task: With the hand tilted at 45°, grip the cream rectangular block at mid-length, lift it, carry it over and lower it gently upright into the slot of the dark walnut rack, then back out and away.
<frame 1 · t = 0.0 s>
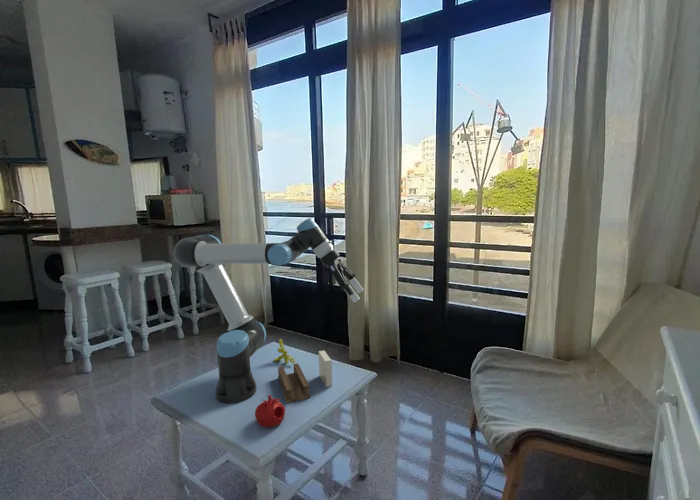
hand: (359, 296, 138), 36 cm above the table, tool tilted 35°, fingers open, 13 cm apart
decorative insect: (284, 363, 161), on the table
cream rectangular block: (325, 380, 144), on the table
pomegranate: (270, 422, 118), on the table
rack: (293, 387, 139), on the table
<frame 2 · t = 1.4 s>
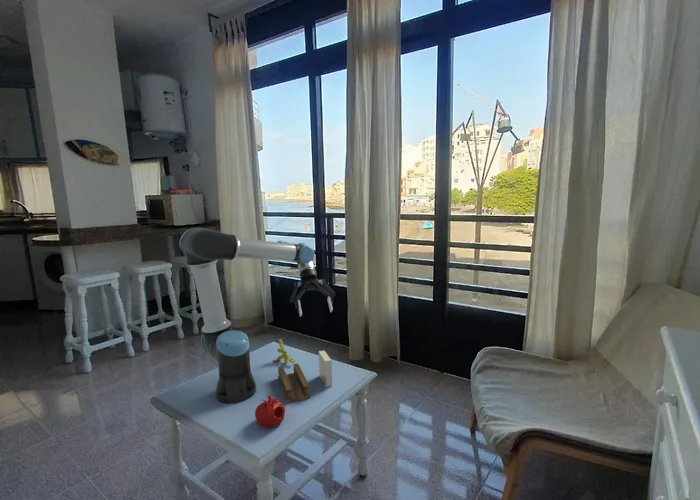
hand: (316, 312, 151), 26 cm above the table, tool tilted 45°, fingers open, 13 cm apart
nothing on the table moved.
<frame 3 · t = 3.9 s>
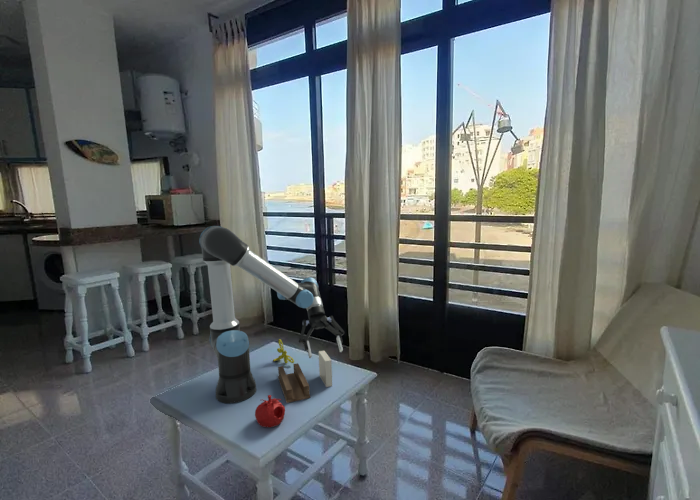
hand: (326, 354, 146), 10 cm above the table, tool tilted 45°, fingers open, 13 cm apart
nothing on the table moved.
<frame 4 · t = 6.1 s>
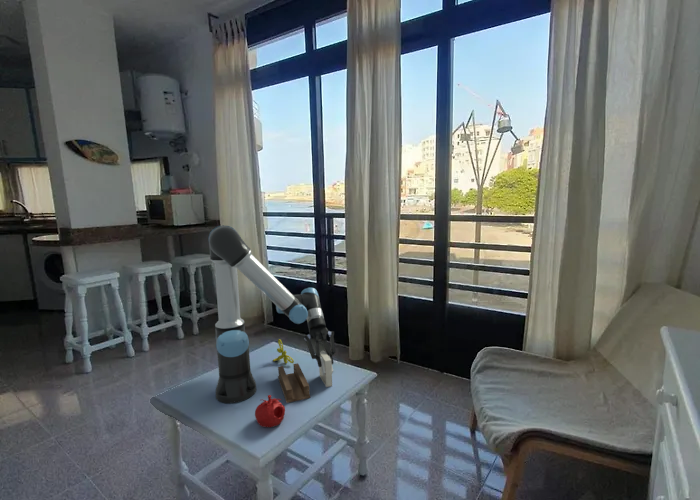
hand: (328, 373, 140), 5 cm above the table, tool tilted 45°, fingers closed on cream rectangular block, 2 cm apart
cream rectangular block: (325, 380, 144), on the table, touching gripper
everything else where it was.
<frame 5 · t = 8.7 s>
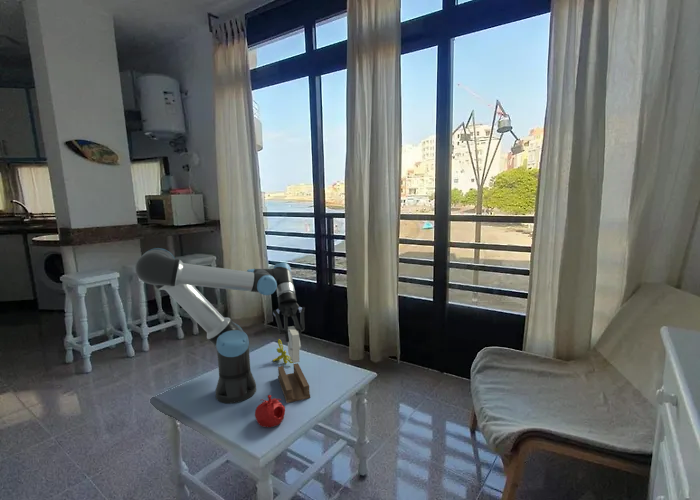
hand: (295, 348, 134), 18 cm above the table, tool tilted 45°, fingers closed on cream rectangular block, 2 cm apart
cream rectangular block: (293, 357, 138), point 13 cm above the table, touching gripper
everything else where it was.
when the fingers open (8 cm above the table, at t = 11.5 s): cream rectangular block drops 1 cm, resting on rack.
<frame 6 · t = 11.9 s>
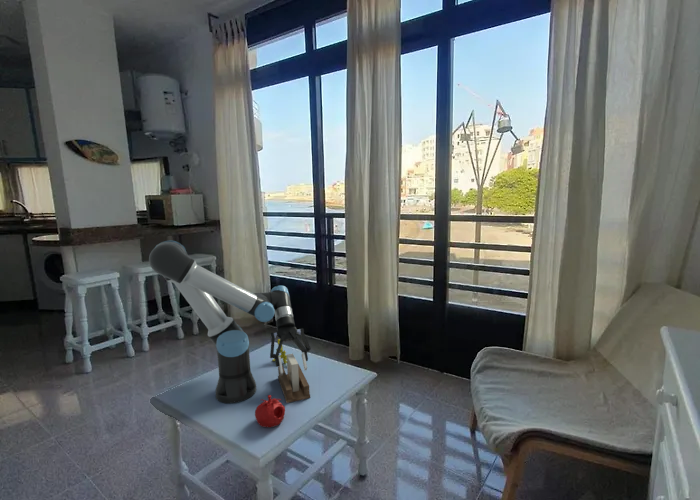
hand: (294, 371, 135), 8 cm above the table, tool tilted 45°, fingers open, 9 cm apart
cream rectangular block: (293, 385, 139), point 1 cm above the table, touching rack
everything else where it was.
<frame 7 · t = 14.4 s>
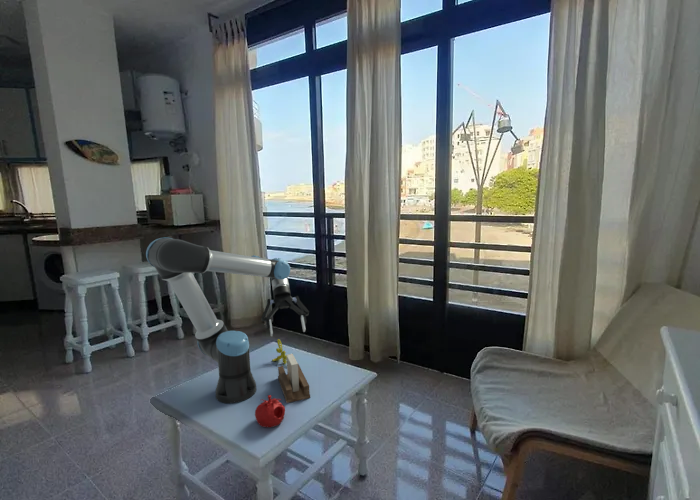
hand: (288, 332, 145), 20 cm above the table, tool tilted 45°, fingers open, 13 cm apart
nothing on the table moved.
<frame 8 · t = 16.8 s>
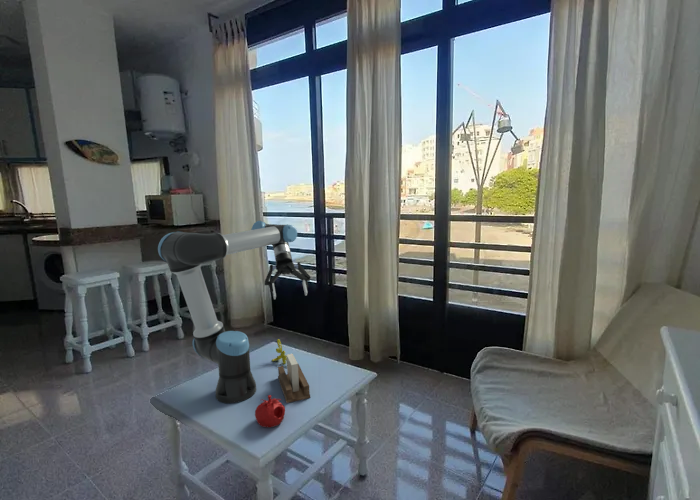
hand: (290, 295, 150), 34 cm above the table, tool tilted 45°, fingers open, 13 cm apart
nothing on the table moved.
at the end: cream rectangular block inside the target area on the rack (0.0 cm from its centre), point 1.0 cm above the rack's base; cream rectangular block tilted 0°; the gripper is holding nothing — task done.
